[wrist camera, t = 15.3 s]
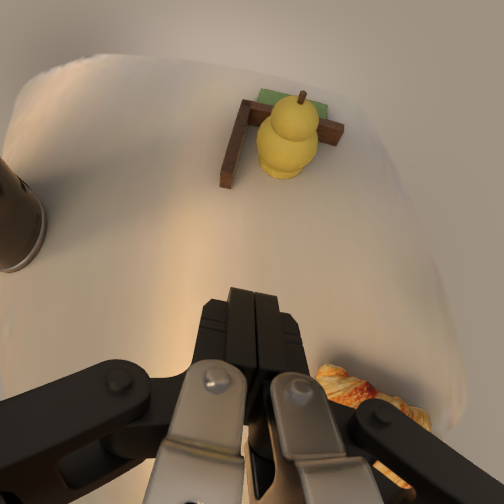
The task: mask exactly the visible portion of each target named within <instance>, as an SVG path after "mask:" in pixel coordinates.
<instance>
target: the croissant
mask: <svg viewBox="0 0 504 504" xmlns="http://www.w3.org/2000/svg"><path fill="white" fill-rule="evenodd" d="M316 380H317V382H319V383H320V385H321V386H322V387H323V388H324V390H325V392H326V395H327V398H328V399H329V400H331V401H334V402H336V403H339V404H342V405H346V406H349V407H352V408H355V409H357V407H358V406H359V404H360V403H361V402H363V401H364V400H366V399H371V398H377V399H382V400H385V401H387V402H389V403H391V404H393V405H394V406H395V407H397V408H398V409H399V410H401V411H402V412H403V413H405V414H406V415H407V416H409V417H410V418H411V419H413V420H414V421H415V422H417V423H418V424H419V425H421V426H422V427H423V428H425V429H426V430H427V431H429V432H430V433H431V422H430V418H429V415H428V413H427V411H426V410H425V409H420V408H418V407H414V406H408V405H407V404H406V403H405V402H404V401H403V400H401V399H400V398H399V397H397V396H395V397H391V396H388V395H386V394H383V393H381V392H379V391H377V390H376V389H375V388H374V387H373V386H372V385H371V384H370V383H369V382H367V381H365V380H359V379H357V378H356V377H354V376H353V377H348V373H347V372H346V371H345V370H344V369H343V368H342V367H341V366H335V365H332V364H330V363H324V364H323V365H322V366H320V367H319V368H318V371H317V375H316ZM373 466H374V467H375V468H376V469H378V470H379V471H380V472H381V473H383V474H384V475H385V476H387V477H388V478H389V479H390V480H392V481H393V482H394V483H396V484H397V485H398V486H400V487H401V488H405V489H409V488H412V486H410V485H409V484H408V483H406V482H405V481H404V480H402V479H401V478H400V477H398V476H397V475H396V474H394V473H393V472H392V471H391V470H389V469H388V468H387V467H386V466H384V465H383V464H382V463H380V462H379V461H377V462H376V463H375V464H374V465H373Z"/></svg>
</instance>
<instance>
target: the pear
mask: <svg viewBox="0 0 504 504" xmlns="http://www.w3.org/2000/svg"><path fill="white" fill-rule="evenodd" d="M306 95H307V93H306V92H305V91H301V92H300V94H299V96H287V97H285V98H282V99H281V100H279V101H278V102H277V103H276V104H275V105H274V107H273V109H272V112H271V115H270V116H269V117H267V118H266V119H265V120H264V121H263V122H262V124H261V125H260V127H259V129H258V132H257V137H256V144H257V149H258V152H259V153H258V162H259V164H260V166H261V168H262V169H263V170H264V171H265V172H266V173H267V174H269V175H271V176H273V177H275V178H279V179H289V178H292V177H295V176H296V175H298V174H299V173H300V172H301V170H302V168H303V167H304V166H306V165H307V164H308V163H309V162H310V161H311V160H312V159H313V157H314V156H315V154H316V151H317V148H318V135H317V132H316V130H317V127H318V124H319V115H318V112H317V109H316V107H315V106H314V105H313V104H312V103H311V102H310V101H309V100H308V99H306Z"/></svg>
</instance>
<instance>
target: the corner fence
mask: <svg viewBox="0 0 504 504" xmlns="http://www.w3.org/2000/svg"><path fill="white" fill-rule="evenodd" d="M273 107H274V106H273V105H268V104H264V103H259V102H254V101H249V100H244V99H243V100H242V102H241V105H240V109H239V112H238V115H237V118H236V121H235V125H234V128H233V131H232V134H231V138H230V141H229V144H228V148H227V151H226V154H225V158H224V161H223V164H222V168H221V172H220V187H223V188H227V189H231V186H232V183H233V179H234V175H235V171H236V167H237V163H238V160H239V156H240V152H241V148H242V145H243V141H244V137H245V134H246V130H247V126H248V125H253V126H257V127H260V125H261V124H262V122H263V121H264V120H265V119H266V118H267V117H269V116H270V115H271V112H272V109H273ZM316 132H317V135H318V141H319V142H322V143H326V144H329V145H333V146H336V145H337V143H338V142H339V140H340V138H341V136H342V134H343V132H344V124H341V123H337V122H334V121H331V120H327V119H324V118H320V117H319V124H318V127H317V130H316Z"/></svg>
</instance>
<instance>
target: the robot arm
mask: <svg viewBox="0 0 504 504" xmlns="http://www.w3.org/2000/svg"><path fill="white" fill-rule="evenodd" d="M20 180H21V179H20V178H19V177H18V176H17V175H16V174H15V173H14V172H13V171H12V170H11V169H10V168H9V166H8V165H7V164H6V163H5V162H4V160H3V159H2V158H1V157H0V271H1V272H5V273H11V272H15V271H18V270H20V269H22V268H23V267H25V266H26V265H27V264H28V263H29V262H30V261H31V260H32V259H33V258H34V256H35V255H36V254H37V252H38V250H39V249H40V247H41V245H42V242H43V239H44V236H45V232H46V225H47V218H46V212H45V209H44V207H43V205H42V203H41V202H40V201H39V200H38V199H37V198H36V196H34V195H33V194H32V193H31V192H30V191H29V190H28V189H27V188H26V186H27V187H28V185H27V184H26V183H25V182H24V181H22V180H21V181H22V182H23V183H24V184H25V185H26V186H25V185H24V184H23V183H22V182H21V181H20ZM28 188H29V187H28ZM302 344H303V343H302V339H301V337H300V330H299V326H298V324H297V322H296V321H295V320H294V319H293V317H292V316H291V315H290V314H288V313H283V312H280V311H279V305H278V299H277V296H273V295H268V294H263V293H258V292H254V293H253V291H248V290H243V289H238V288H233V287H231V288H230V291H229V295H228V299H227V302H225V301H221V300H216V299H211V300H210V301H209V302H208V303H206V304H205V305H204V306H203V310H202V315H201V320H200V325H199V330H198V334H197V339H196V344H195V349H194V354H193V359H192V363H191V365H190V367H189V368H188V369H187V370H186V371H184V372H183V373H181V374H179V375H177V376H173V377H168V378H150V377H149V376H148V374H147V373H146V371H145V370H144V369H143V368H141V367H140V366H138V365H137V364H135V363H133V362H130V361H126V360H119V359H113V360H107V361H103V362H101V363H98V364H96V365H93V366H91V367H88V368H86V369H84V370H81V371H79V372H76V373H74V374H71V375H69V376H66V377H63V378H61V379H58V380H56V381H53V382H51V383H48V384H46V385H43V386H40V387H38V388H35V389H32V390H30V391H27V392H24V393H22V394H19V395H16V396H14V397H11V398H8V399H5V400H3V401H0V504H68V503H70V502H72V501H74V500H76V499H78V498H80V497H82V496H84V495H86V494H88V493H90V492H92V491H94V490H95V489H97V488H99V487H101V486H103V485H105V484H106V483H108V482H110V481H112V480H113V479H115V478H117V477H119V476H120V475H122V474H124V473H126V472H127V471H129V470H131V469H132V468H134V467H136V466H137V465H139V464H140V463H142V462H143V461H144V460H145V459H146V458H156V459H155V463H154V466H153V469H152V472H151V476H150V479H149V482H148V486H147V489H146V492H145V496H144V499H143V502H142V504H241V503H242V492H243V481H244V470H245V463H246V473H247V483H248V492H249V502H250V504H504V485H503V484H502V483H500V482H499V481H498V480H496V479H495V478H493V477H492V476H490V475H489V474H487V473H486V472H485V471H483V470H482V469H480V468H479V467H477V466H476V465H474V464H473V463H472V462H470V461H469V460H467V459H466V458H465V457H463V456H462V455H460V454H459V453H458V452H456V451H455V450H453V449H452V448H451V447H449V446H448V445H447V444H445V443H444V442H442V441H441V440H440V439H438V438H437V437H436V436H434V435H433V434H432V433H430V432H429V431H427V430H426V429H425V428H423V427H422V426H421V425H419V424H418V423H417V422H415V421H414V420H413V419H411V418H410V417H409V416H407V415H406V414H405V413H403V412H402V411H401V410H399V409H398V408H397V407H395V406H394V405H393V404H391V403H389V402H387V401H385V400H382V399H377V398H371V399H366V400H364V401H363V402H361V403H360V404H359V406H358V407H357V409H355V408H352V407H349V406H346V405H342V404H339V403H336V402H334V401H331V400H329V399H328V398H327V395H326V392H325V390H324V388H323V387H322V386H321V385H320V383H319V382H317V381H316V380H315V379H313V378H312V377H310V373H309V369H308V365H307V360H306V356H305V352H304V347H303V346H302ZM243 425H246V426H249V436H248V438H247V440H246V442H245V445H244V453H245V460H244V456H241V441H242V431H243ZM377 461H379V462H380V463H382V464H383V465H384V466H386V467H387V468H388V469H389V470H391V471H392V472H393V473H394V474H396V475H397V476H398V477H400V478H401V479H402V480H404V481H405V482H406V483H408V484H409V485H410V486H412V488H409V489H405V488H401V487H400V486H398V485H397V484H396V483H394V482H393V481H392V480H390V479H389V478H388V477H387V476H385V475H384V474H383V473H381V472H380V471H379V470H378V469H376V468H375V467H374V466H373V465H374V464H375V463H376V462H377Z"/></svg>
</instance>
